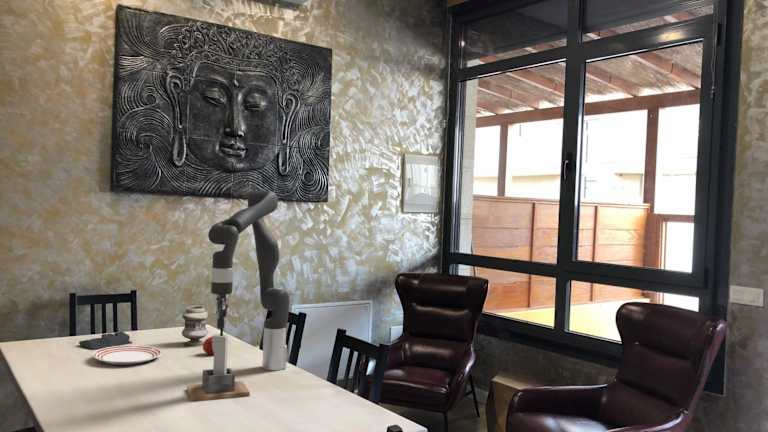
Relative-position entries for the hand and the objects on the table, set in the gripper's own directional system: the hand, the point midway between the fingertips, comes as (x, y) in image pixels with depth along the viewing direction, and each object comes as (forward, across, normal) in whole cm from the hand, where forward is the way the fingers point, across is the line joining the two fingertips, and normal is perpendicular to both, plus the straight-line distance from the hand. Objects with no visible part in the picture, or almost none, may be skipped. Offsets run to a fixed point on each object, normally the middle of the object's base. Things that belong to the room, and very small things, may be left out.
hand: (220, 328), depth 218 cm
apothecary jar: (+24, +78, -1) cm, 81 cm away
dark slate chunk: (+24, +88, +38) cm, 99 cm away
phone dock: (+24, 0, 0) cm, 24 cm away
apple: (+24, +56, -6) cm, 61 cm away
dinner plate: (+24, +57, +29) cm, 68 cm away
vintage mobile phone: (+20, 0, 0) cm, 20 cm away
